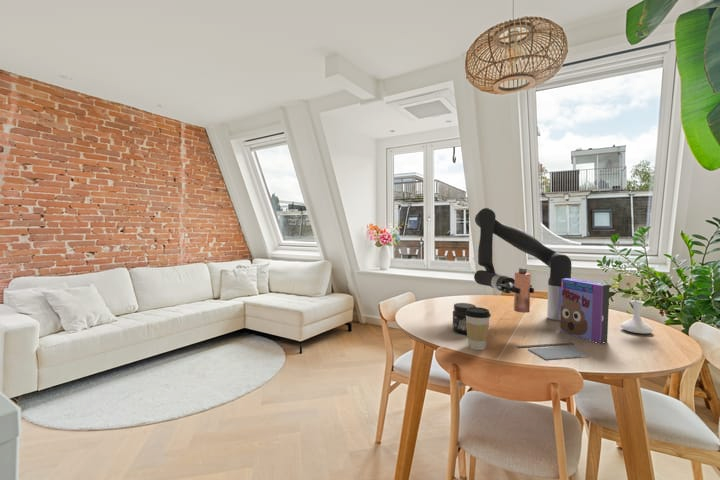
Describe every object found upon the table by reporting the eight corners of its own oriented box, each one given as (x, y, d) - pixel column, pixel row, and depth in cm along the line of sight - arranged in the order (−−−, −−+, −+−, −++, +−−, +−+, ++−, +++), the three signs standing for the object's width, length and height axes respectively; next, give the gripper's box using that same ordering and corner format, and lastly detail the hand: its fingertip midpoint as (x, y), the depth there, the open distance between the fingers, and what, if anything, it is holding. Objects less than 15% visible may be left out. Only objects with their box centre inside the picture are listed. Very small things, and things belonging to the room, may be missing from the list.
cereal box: (560, 331, 157) (561, 278, 155) (567, 330, 159) (568, 277, 157) (599, 343, 141) (601, 285, 139) (607, 342, 143) (609, 284, 141)
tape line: (571, 343, 142) (571, 342, 142) (573, 344, 140) (573, 343, 140) (517, 346, 138) (517, 346, 138) (519, 348, 136) (519, 347, 136)
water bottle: (523, 308, 151) (524, 267, 150) (532, 312, 145) (533, 269, 144) (511, 309, 150) (512, 267, 149) (519, 312, 144) (520, 269, 143)
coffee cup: (489, 344, 140) (490, 307, 140) (490, 353, 131) (491, 314, 130) (464, 341, 144) (465, 305, 143) (463, 350, 134) (463, 311, 134)
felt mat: (569, 346, 137) (569, 346, 137) (589, 356, 128) (589, 355, 128) (527, 349, 134) (527, 348, 134) (545, 360, 125) (545, 359, 125)
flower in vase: (647, 329, 159) (650, 275, 157) (656, 337, 148) (659, 279, 147) (613, 326, 164) (615, 273, 163) (619, 333, 154) (621, 277, 152)
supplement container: (457, 326, 164) (457, 301, 163) (479, 330, 158) (480, 304, 157) (448, 332, 156) (449, 306, 155) (472, 337, 150) (472, 309, 149)
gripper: (489, 275, 160) (510, 282, 143) (517, 275, 162) (541, 281, 146) (488, 292, 160) (509, 300, 144) (517, 290, 163) (541, 299, 146)
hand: (525, 290), depth 145 cm, fingers closed on water bottle, 6 cm apart
